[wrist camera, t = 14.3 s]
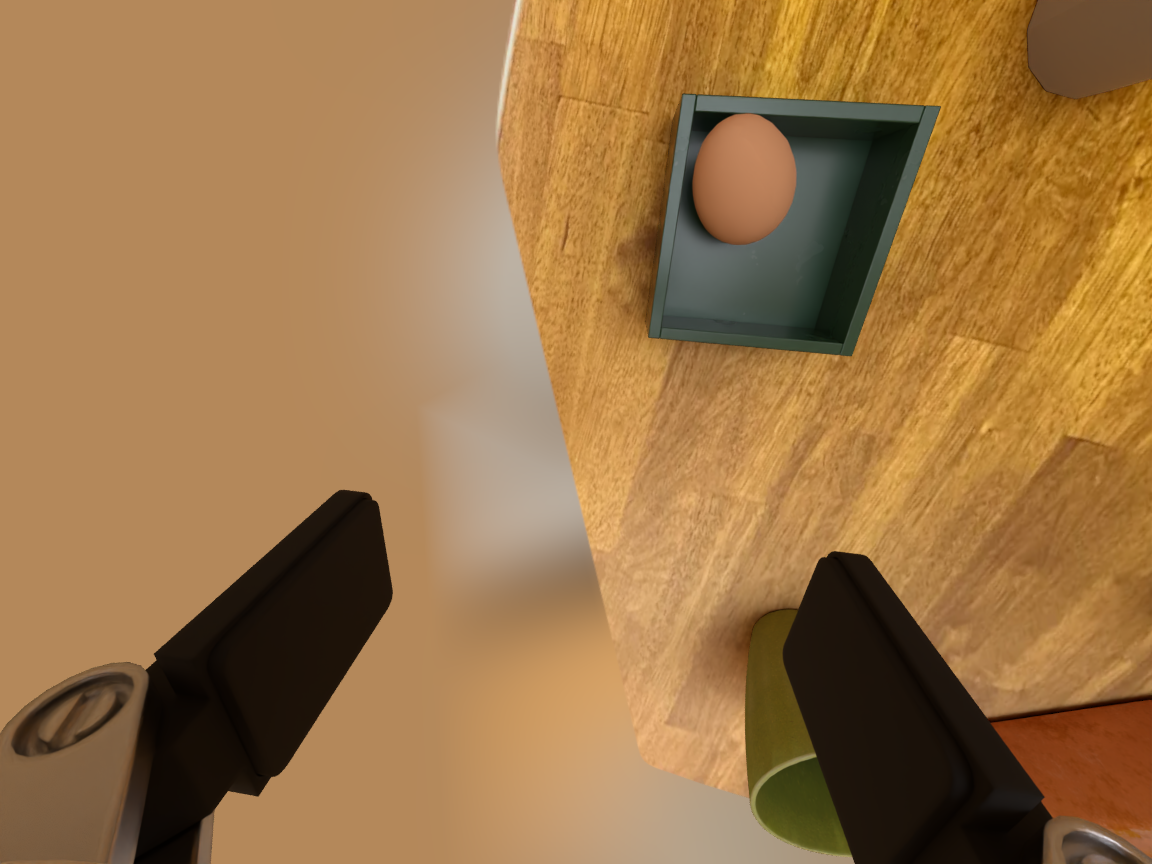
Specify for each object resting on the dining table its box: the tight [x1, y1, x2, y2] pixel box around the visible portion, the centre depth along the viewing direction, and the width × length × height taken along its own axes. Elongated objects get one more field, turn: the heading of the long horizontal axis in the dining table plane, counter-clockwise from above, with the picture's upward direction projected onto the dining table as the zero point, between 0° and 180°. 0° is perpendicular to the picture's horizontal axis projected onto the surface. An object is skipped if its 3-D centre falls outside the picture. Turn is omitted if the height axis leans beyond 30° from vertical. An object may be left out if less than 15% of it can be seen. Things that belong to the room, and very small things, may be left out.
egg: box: [692, 113, 796, 245], centre depth 25 cm, size 6×6×8 cm
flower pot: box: [745, 609, 852, 857], centre depth 40 cm, size 15×15×16 cm
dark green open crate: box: [645, 94, 941, 356], centre depth 28 cm, size 14×14×6 cm
